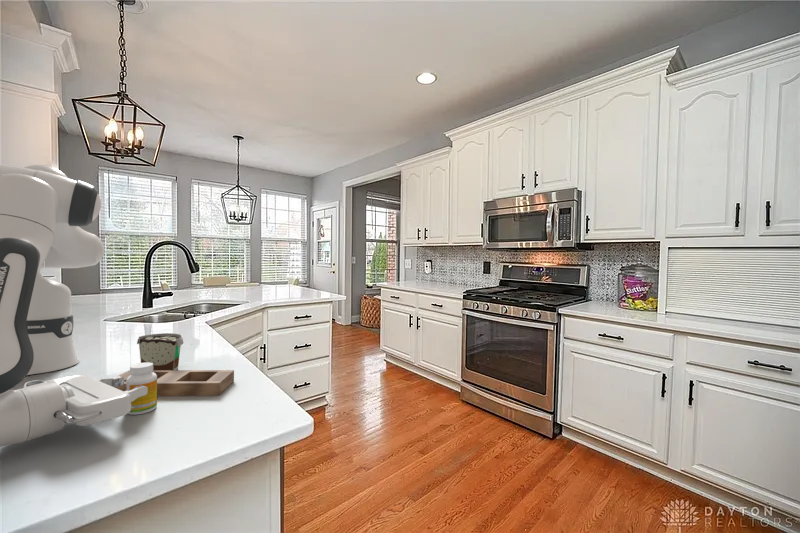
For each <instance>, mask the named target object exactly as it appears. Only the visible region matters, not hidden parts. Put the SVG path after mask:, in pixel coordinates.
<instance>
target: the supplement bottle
mask: <svg viewBox="0 0 800 533" xmlns="http://www.w3.org/2000/svg"><path fill="white" fill-rule="evenodd" d="M129 370H130V373H131V374H132V375H130V376H129V377H128V378H127V379H126V391H130V390H132V389H134V387H137V386H140V385H143V386H146V387H147V388H148V393H147V394H146V395H144V396H141V397H138V398H137V399H135V400H134V401H132V402H131V410H130V412H129V413H127V414H126V415H132V416H134V415H137V416H138V415H143V414H147V413H150V412H152V411H154V410H155V409H156V408H157V407H158V396H157V375H156V374H155V373H154V372H152V371H153V363H149V362H145V363H141V362H139V363H134V364H132V365H130V367H129Z"/></svg>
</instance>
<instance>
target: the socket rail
mask: <svg viewBox="0 0 800 533" xmlns="http://www.w3.org/2000/svg"><path fill="white" fill-rule="evenodd" d="M152 372H154V373H155V374H156V375H157V397H186V396H187V397H188V396H189V397H190V396H191V397H193V396H194V397H196V396H197V397H199V396H200V397H201V396H206V397H207V396H210V397H211V396H212V397H213V396H221V394H223V392H225V390H227V388H229V387H230V386H231V385H232V384H233V383H234V382H235V370H234V369H206V370H205V369H202V370H200V369H195V370H194V369H193V370H192V369H191V370H190V369H187V370H186V369H185V370H183V369H180V370H179V369H178V370H153V371H152ZM130 375H132V374H131V373H130V369H128V370H127V371H125V372H122V373H121V374H119V375H118V376H121V377H123V378H124V384H123V385H122V386H118V387H114V388H117V389H119V390H121V391H126V379H127V378H128V377H129V376H130ZM233 381H234V382H233ZM232 382H233V383H232ZM231 383H232V384H231ZM230 384H231V385H230ZM229 385H230V386H229ZM228 386H229V387H228Z"/></svg>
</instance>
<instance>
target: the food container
mask: <svg viewBox="0 0 800 533" xmlns="http://www.w3.org/2000/svg"><path fill="white" fill-rule="evenodd" d="M183 344H184V339H183V337H182V335H181V334H179V333H171V332H169V333H168V332H166V333H162V332H161V333H152V334H145V335H140V336H138V338H137V342H136V345H138V346H139V347H138V348H139V359H140V363H145V362H149V363H153V370H179V365H180V364H179V362H180V355H181V354H180V353H181V347H182V345H183Z"/></svg>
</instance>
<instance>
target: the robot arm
mask: <svg viewBox="0 0 800 533" xmlns="http://www.w3.org/2000/svg"><path fill="white" fill-rule="evenodd" d="M99 194H100V193H99V191H98V189H97V188H96V187H95V186H94V185H92V184H89V183H88V182H85V181H82V180H80V179H78V180H74V179H72V178H69V177H68V176H67V175H66V174H65V173H64V172H62V171H61V170H59V169H58V168H55V167H54V166H49V165H44V164H31V165H27V166H24V167H22V166H17V165H10V164H3V163H0V448H2V447H5V446H10V445H18V444H22V443H25V442H29V441H32V440H34V439H37V438H41V437H44V436H47V435H51V434H54V433H57V432H60V431H61V430H63V429H64V427H65V425H66V424H71V423H73V424H74V425H76V426H79V427H80V426H81V427H83V426H90V425H95V424H98V423H102V422H106V421H110V420H114V419H116V418H121V417H123V416H126V415H128V414H127V413H129V412H130V410H131V402H132V401H134V400H135V399H137V398H138V397H141V396H144V395H146V394H147V393H148V388H147V387H146V386H143V385H140V386H137V387H134V389H132V390H130V391H121V390H119V389H117V388H114V387H118V386H122V385H123V384H124V378H123V377H121V376H119V375H117V376H114V377H113V376H112V377H104V378H103V377H102V378H97V379H96V378H94V377H91V376H89V375H86V374H79V375H78V374H75V375H70V376H69V375H68V376H62V377H57V378H56V377H55V378H53V379H47V380H44V381H43V380H41V379H35V380H30V381H27V382H26V381H25V383H24V384H23V387H22V388H18V389H13V388H15V387H16V386H17V385H18V384H19V383H21V382H22V381H23V380H24V379H25V378H26V376H29V375H31V376H32V375H35V374H36V375H37V374H43V373H44V374H45V373H49V372H55V371H58V370H64V369H67V368H70V367H72V366H73V367H74V366H75V365H77V364H79V362H80V361H79V360H80V359H79V358H78V355H77V353H76V349H75V345H74V344H75V343H74V338H73V330H74V314H73V315H72V291H71V289H70V288H69V286H68V285H66V284H64V283H61V282H59V281H56V280H54V279H49V278H47V277H45V276H43V275H42V274H41V270H43V269H80V268H87V267H93V266H96V265H97V264H99V263H100V262H101V260H102V259H103V257H104V255H105V246H104V244H103V241H102V239H100V237H98V235H96V234H94V233H91V232H89V231H86V230H85V229H83V228H82V227H87V226H89V225H91V224H93V222H94V220H96V218H97V217H98V216H99V214H100V212H101V208H102V201H101V200H102V199H101V196H100V195H99Z"/></svg>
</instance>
